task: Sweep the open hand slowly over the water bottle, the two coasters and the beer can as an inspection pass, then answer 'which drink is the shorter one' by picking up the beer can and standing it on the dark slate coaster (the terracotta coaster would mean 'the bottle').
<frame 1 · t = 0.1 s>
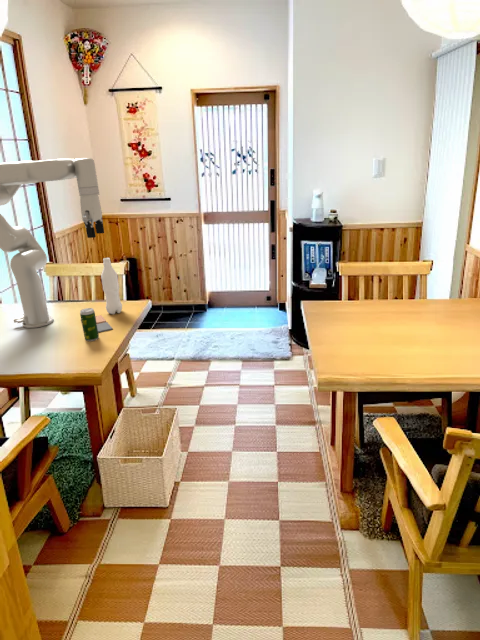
hand: (96, 235, 187), 37 cm above the table, tool pointing down, fingers open, 9 cm apart
beer can: (92, 339, 182), on the table
terracotta coaster: (93, 321, 201), on the table
slate coaster: (99, 328, 192), on the table
water bottle: (115, 312, 211), on the table
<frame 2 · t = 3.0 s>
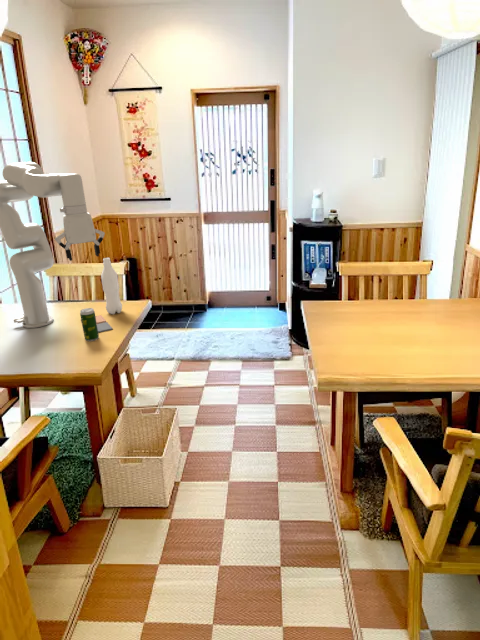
hand: (84, 257, 170), 32 cm above the table, tool pointing down, fingers open, 9 cm apart
nothing on the table moved.
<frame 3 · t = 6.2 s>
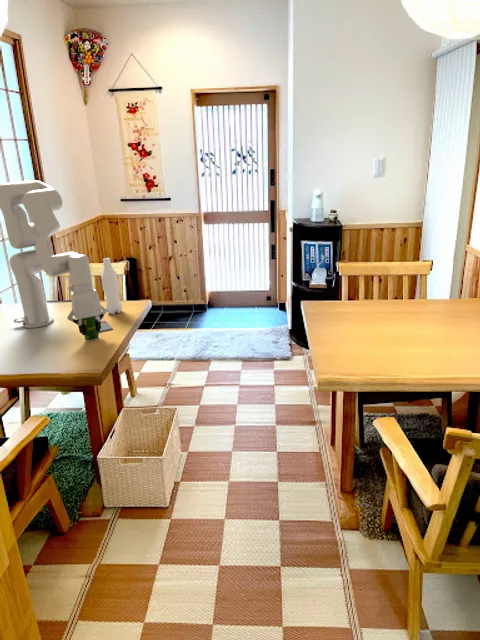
hand: (90, 331, 181), 3 cm above the table, tool pointing down, fingers closed on beer can, 5 cm apart
beer can: (92, 339, 182), on the table, touching gripper
everything else where it was.
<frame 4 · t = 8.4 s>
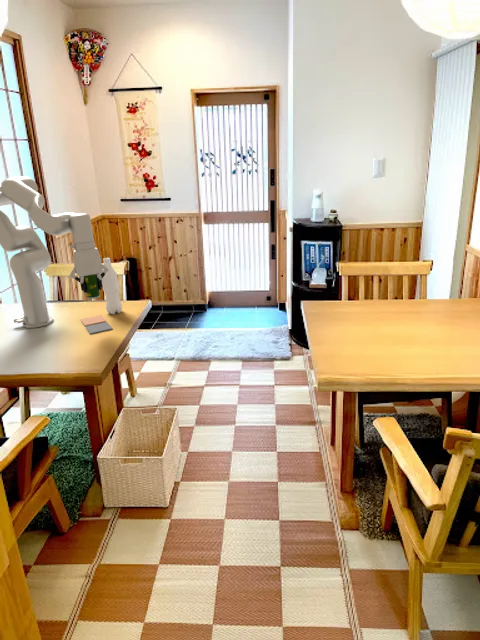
hand: (92, 290, 186), 17 cm above the table, tool pointing down, fingers closed on beer can, 5 cm apart
beer can: (93, 297, 188), point 13 cm above the table, touching gripper
everything else where it was.
when the fingers open (5 cm above the table, at t = 10.8 s): beer can drops 1 cm, resting on slate coaster.
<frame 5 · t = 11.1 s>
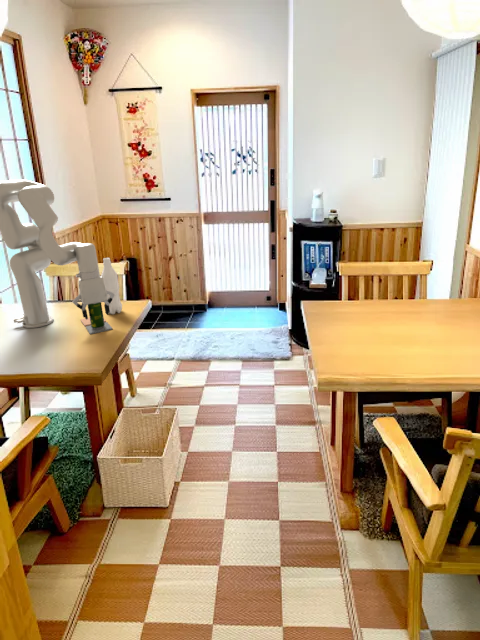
hand: (96, 316, 190), 6 cm above the table, tool pointing down, fingers open, 8 cm apart
beer can: (98, 327, 192), resting on slate coaster
everything else where it was.
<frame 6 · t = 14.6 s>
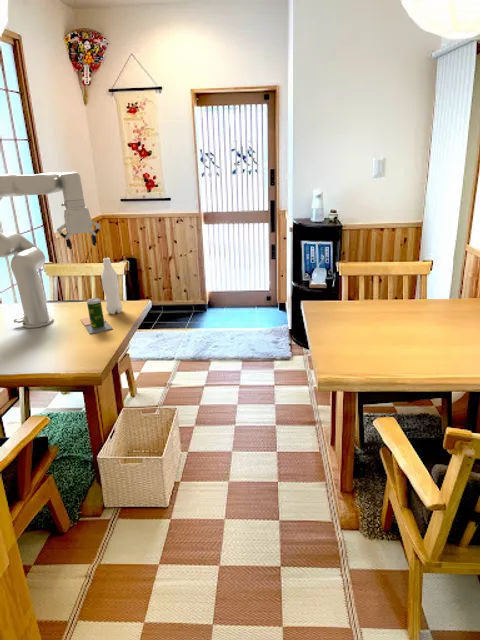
hand: (82, 246, 192), 32 cm above the table, tool pointing down, fingers open, 9 cm apart
nothing on the table moved.
at the end: beer can 0.3 cm from the slate coaster (horizontally); beer can tilted 0°; the gripper is holding nothing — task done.
